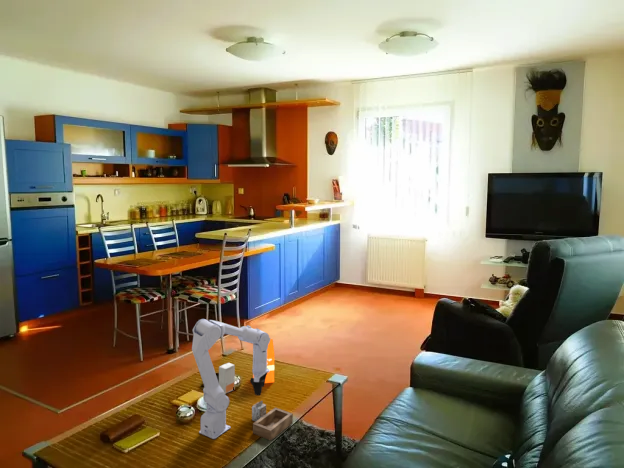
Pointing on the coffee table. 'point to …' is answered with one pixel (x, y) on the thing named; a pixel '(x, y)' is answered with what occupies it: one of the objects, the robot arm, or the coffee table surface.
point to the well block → (272, 423)
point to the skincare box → (227, 377)
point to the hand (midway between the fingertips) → (259, 390)
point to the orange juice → (270, 362)
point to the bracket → (258, 411)
